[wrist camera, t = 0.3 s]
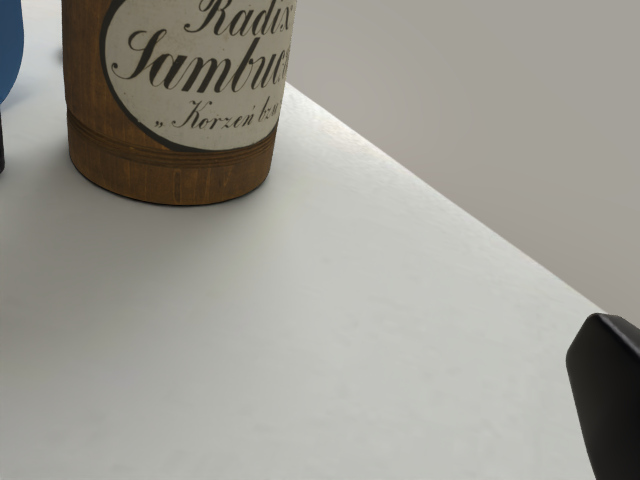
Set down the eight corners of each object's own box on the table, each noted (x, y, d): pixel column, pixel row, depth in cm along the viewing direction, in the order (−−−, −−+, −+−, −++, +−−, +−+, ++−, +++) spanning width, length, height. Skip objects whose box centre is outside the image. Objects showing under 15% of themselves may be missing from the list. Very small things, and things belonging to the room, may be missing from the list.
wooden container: (137, 231, 34) (143, -224, 22) (33, 130, 42) (-6, -251, 30) (308, 178, 44) (379, -158, 32) (199, 104, 52) (222, -191, 39)
